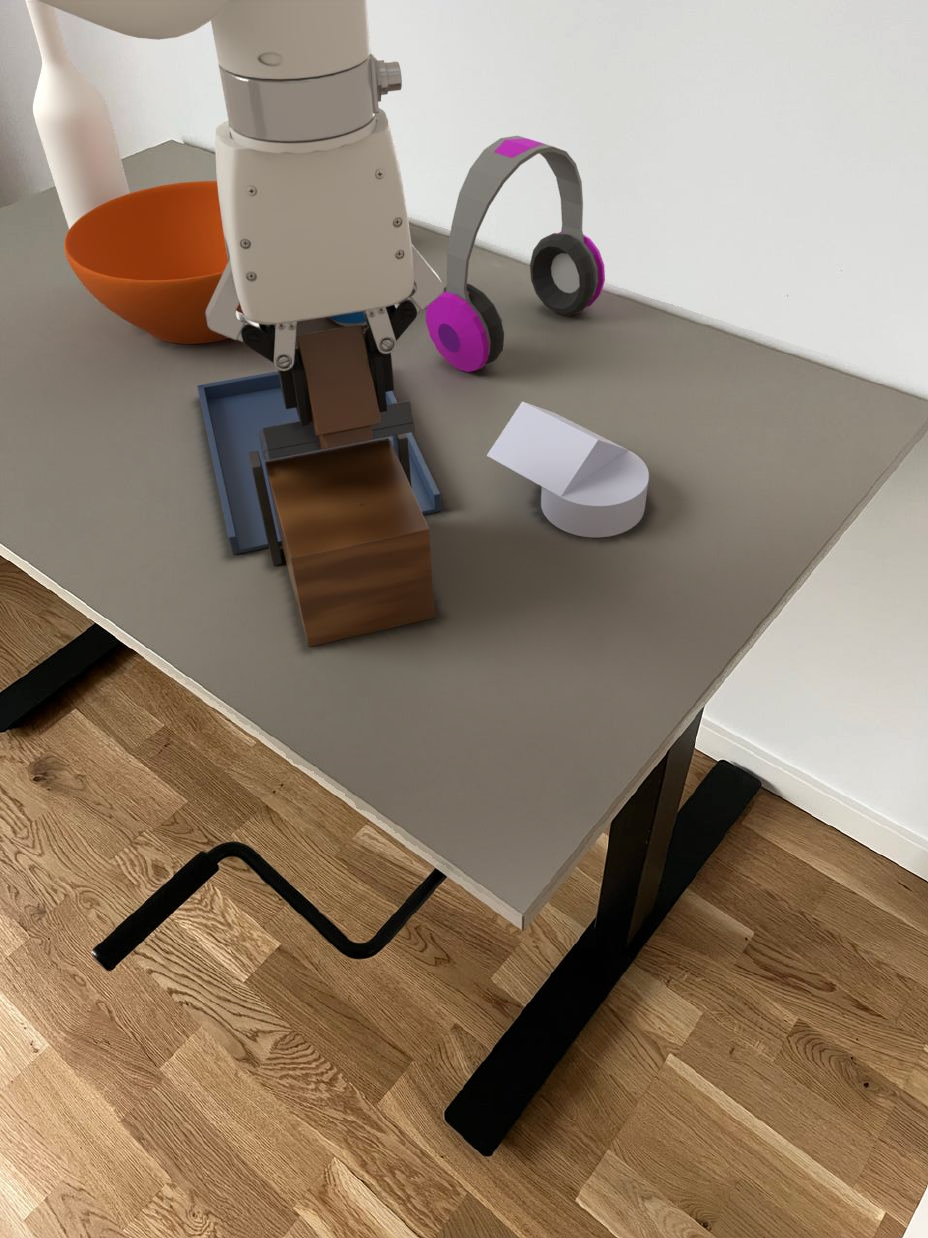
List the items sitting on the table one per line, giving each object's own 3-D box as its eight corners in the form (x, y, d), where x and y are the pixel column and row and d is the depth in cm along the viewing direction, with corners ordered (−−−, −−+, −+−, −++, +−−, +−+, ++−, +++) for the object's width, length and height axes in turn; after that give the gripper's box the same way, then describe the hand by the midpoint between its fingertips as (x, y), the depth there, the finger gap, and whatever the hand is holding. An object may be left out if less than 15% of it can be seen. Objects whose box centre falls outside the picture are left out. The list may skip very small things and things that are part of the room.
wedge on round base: (486, 486, 88) (599, 552, 82) (486, 422, 83) (605, 487, 77) (553, 443, 93) (665, 502, 86) (556, 380, 88) (675, 438, 81)
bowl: (60, 372, 104) (28, 282, 97) (125, 264, 122) (102, 181, 114) (297, 371, 103) (282, 280, 96) (327, 262, 121) (317, 178, 113)
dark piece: (431, 428, 61) (409, 315, 60) (272, 459, 60) (246, 343, 58) (389, 435, 78) (371, 347, 77) (264, 460, 76) (243, 369, 75)
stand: (448, 614, 77) (443, 514, 70) (294, 650, 75) (272, 550, 67) (409, 520, 85) (401, 422, 78) (269, 549, 83) (247, 451, 76)
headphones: (548, 290, 114) (555, 104, 100) (609, 314, 110) (625, 123, 95) (420, 360, 104) (407, 164, 90) (480, 390, 99) (477, 189, 85)
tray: (441, 511, 86) (440, 493, 85) (232, 555, 82) (228, 537, 81) (376, 369, 103) (375, 353, 101) (201, 401, 99) (197, 385, 98)
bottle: (139, 269, 120) (62, -16, 99) (73, 273, 120) (-19, -12, 99) (150, 241, 126) (79, -35, 105) (86, 244, 126) (2, -31, 105)
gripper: (440, 58, 54) (450, 357, 67) (127, 93, 51) (201, 399, 64) (480, 101, 49) (483, 416, 62) (134, 143, 46) (214, 465, 59)
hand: (339, 404), depth 63 cm, fingers closed on dark piece, 4 cm apart
